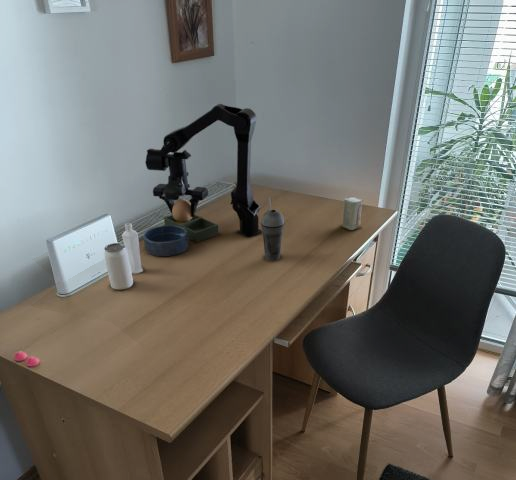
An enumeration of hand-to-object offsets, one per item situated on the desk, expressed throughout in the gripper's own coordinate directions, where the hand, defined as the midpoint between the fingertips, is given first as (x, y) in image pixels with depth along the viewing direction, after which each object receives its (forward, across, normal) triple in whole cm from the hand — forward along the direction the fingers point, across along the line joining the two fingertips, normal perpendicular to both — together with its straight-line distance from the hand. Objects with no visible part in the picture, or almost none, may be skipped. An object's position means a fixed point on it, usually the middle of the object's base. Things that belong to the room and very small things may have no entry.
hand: (183, 215), depth 178 cm
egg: (+3, 0, 0) cm, 3 cm away
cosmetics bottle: (+5, +58, +16) cm, 60 cm away
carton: (+4, +4, -2) cm, 6 cm away
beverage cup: (+5, +38, -16) cm, 41 cm away
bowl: (+4, +2, -18) cm, 18 cm away
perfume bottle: (+4, 0, -35) cm, 35 cm away
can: (+4, 0, -45) cm, 45 cm away
